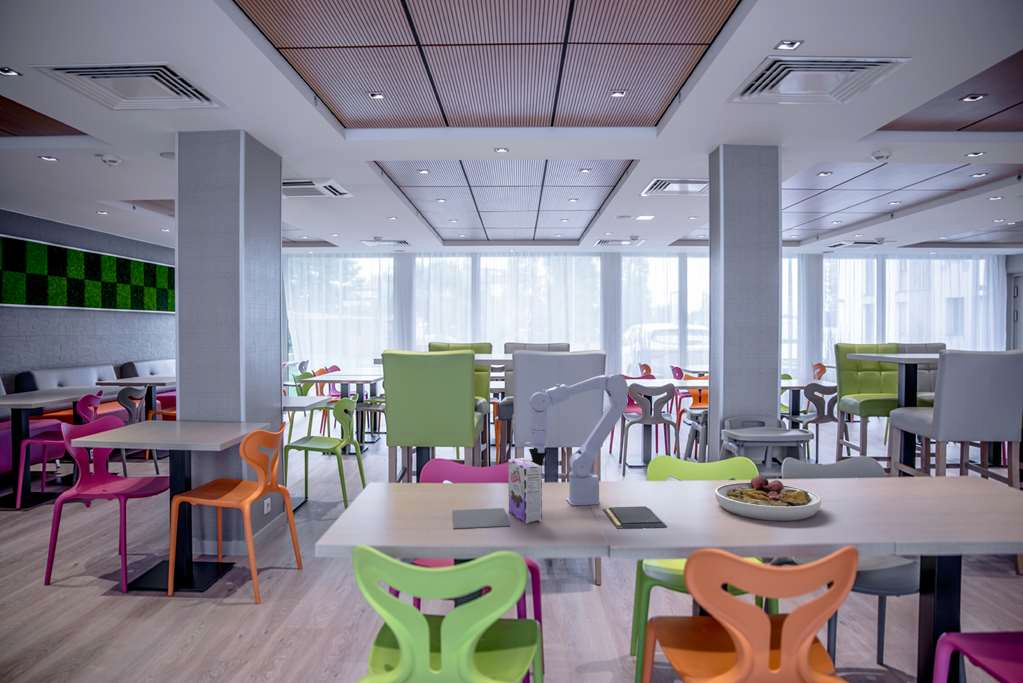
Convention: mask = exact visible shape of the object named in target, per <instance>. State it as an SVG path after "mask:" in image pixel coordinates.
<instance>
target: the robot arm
mask: <svg viewBox="0 0 1023 683" xmlns="http://www.w3.org/2000/svg"><path fill="white" fill-rule="evenodd" d="M593 390H600V391H605V392H606V393H607V395H608V400H609V404H610V405H608V407H607V409H606V410H605V412H604V414H603V415H602V416H601V418H600V419H599V420H598V422H597V423H596V425H595V427H594V428H593V430H592V431H591V433H590V434H589V436H588V437H587V439H586V440H585V442H584V443H583V444H582V445H581V446H580V447H579V448H578V449H577V450H576V451H575V452H573V453H572V454H571V455H569V459H568V465H569V467H570V468H571V470H570V471H569V473H568V474H569V475H568V478H569V479H568V482H569V485H568V488H569V490H568V491H569V492H568V493H569V495H568V496H569V497H566V501H567V502H568V504H569V505H571V506H586V505H587V506H588V505H589V506H591V505H600V480H599V476H598V475H597V474H592V472H591V471H592V469H593V468H592V466H593V464H594V462H595V460H596V458H597V453H598V452H599V450H600V448H601V447H602V445H603V444H604V443H605V442H606V440H607V438H608V437H609V435H610V433H611V432H612V431H613V430H614V428H615V426H616V425H617V423H618V422H619V420H620V418H621V417H622V415H623V414H624V413H625V411H626V410H627V407H628V393H629V392H628V391H629V386H628V383H627V380H626V379H625V377H624V376H623V375H621V374H617V373H614V372H613V373H612V372H610V373H607V374H600V375H597V376H593V377H591V378H588V379H586V380H583V381H580V382H577V383H575V384H572V385H569V386H568V385H567V384H564V383H562V384H561V383H556V384H555V386H554V387H550V388H548V389H546V388H544V389H542V390H541V391H542V392H541V391H537V392H534V393H533V394H532V395H531V397H530V400H529V404H530V406H531V408H530V415H529V441H527V442H525V446H529V447H532V448H528V452H529V453H530V456H531V462H533V463H535V464H537V465H539V466H542V467H543V464H544V461H545V457H546V455H547V454H548V451H547V447H548V421H549V419H548V409H549V407H551V408H552V407H555V406H558V405H561V404H563V403H567V402H569V401H570V400H571V399H572V397H573V396H575V395H579V394H582V393H586V392H589V391H593Z"/></svg>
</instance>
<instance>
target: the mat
mask: <svg viewBox="0 0 1023 683" xmlns="http://www.w3.org/2000/svg"><path fill="white" fill-rule="evenodd" d="M452 518H453V519H452V520H453V530H461V529H462V530H463V529H466V530H467V529H482V528H484V529H485V528H488V529H489V528H508V527H511V524H510V521H509V519H508V515H507V512H506V510H505V508H504V507H499V508H498V507H496V508H473V509H454V510H452Z"/></svg>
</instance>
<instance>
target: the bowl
mask: <svg viewBox="0 0 1023 683" xmlns="http://www.w3.org/2000/svg"><path fill="white" fill-rule="evenodd" d="M714 492H715V493H714V496H715V499H716V501H717V502H718V504H719V505H720V506H721V508H723V509H725V511H728V512H730V513H732V514H736V515H737V516H742V517H746V518H751V519H755V520H763V521H774V522H775V521H776V522H786V521H787V522H790V521H792V522H793V521H800V520H805V519H808V518H810V517H812V516H814V515H816V513H818V511H819V510H820V507H821V505H822V504H821V502H822V500H821V497H820V496H819V495H818V494H817V493H815V492H813V491H809V490H807V489H804V488H800V487H796V486H790V485H785V484H783V483H782V481H781V480H777V479H775V480H773V481H771V482H769V480H768V479H767V477H765V476H763V475H757V476H755V477H752V478H751V480H750V482H733V483H727V484H723V485H719V486H718V487H716V488H715V490H714Z"/></svg>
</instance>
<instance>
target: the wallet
mask: <svg viewBox="0 0 1023 683" xmlns="http://www.w3.org/2000/svg"><path fill="white" fill-rule="evenodd" d="M602 511H603V512H604V514H605V515H606V516H607V518H608V519H609V520H610V522H611V523H612V525H613V526H614V527H615V528H616V529H617V530H639V529H641V530H642V529H643V528H646V529H665V528H666V529H667V528H668V526H667V524H665V522H663V521H662V520H661V519H660V518H659V517H658V516H657V515H656V514H655V513H654V512H653V511H652V509H650V508H648V507H647V506H643V505H642V506H641V505H640V506H612V507H611V506H610V507H608V508H602Z"/></svg>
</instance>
